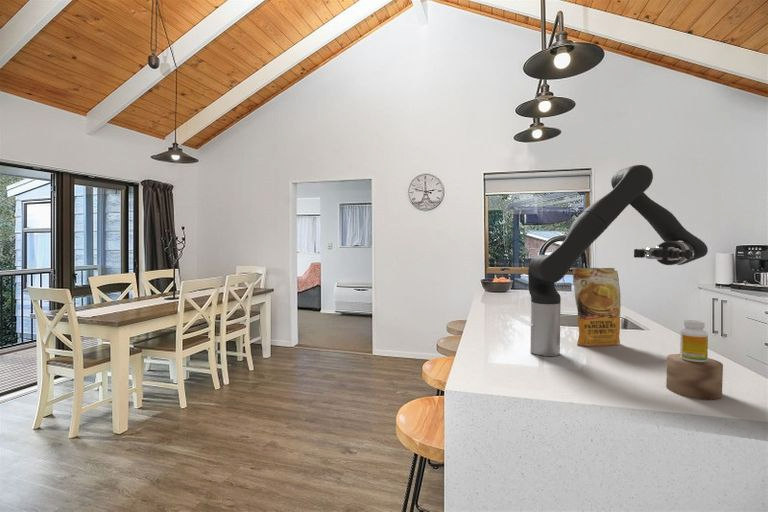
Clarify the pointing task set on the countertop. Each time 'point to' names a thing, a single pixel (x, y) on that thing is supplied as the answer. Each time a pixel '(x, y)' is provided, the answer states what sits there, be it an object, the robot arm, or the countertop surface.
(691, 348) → the supplement bottle
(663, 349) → the countertop surface
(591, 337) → the pancake mix bag
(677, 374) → the walnut block
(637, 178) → the robot arm
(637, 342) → the countertop surface
